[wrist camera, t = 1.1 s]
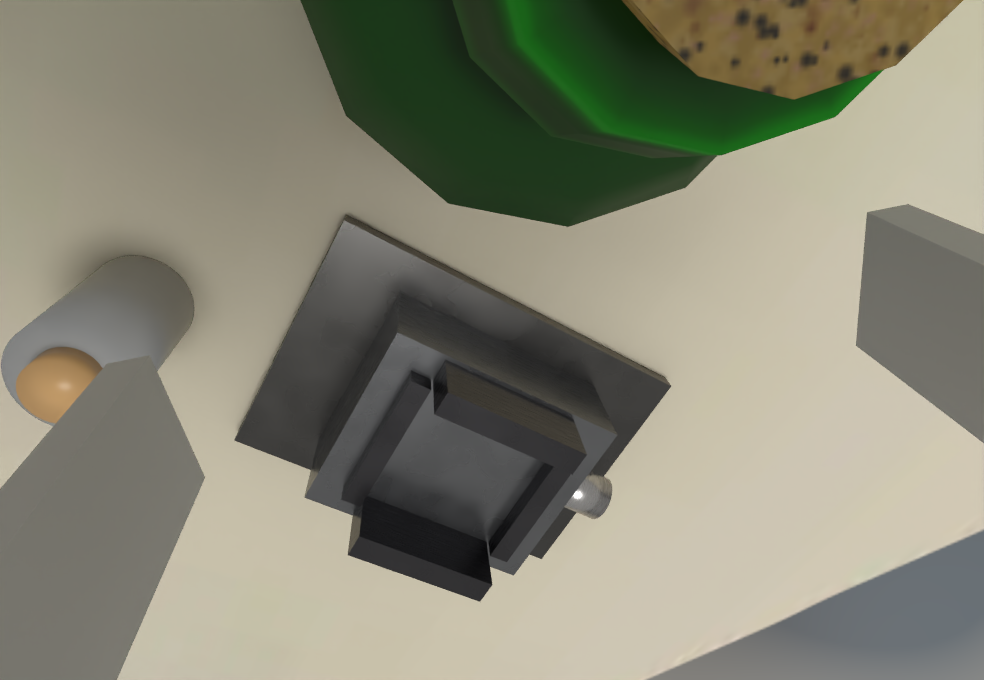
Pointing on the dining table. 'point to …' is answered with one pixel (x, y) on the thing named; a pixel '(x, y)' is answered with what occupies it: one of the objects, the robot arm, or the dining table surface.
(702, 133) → the bottle
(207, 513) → the dining table surface
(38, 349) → the grey cylinder with ball
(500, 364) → the stepped square mount
